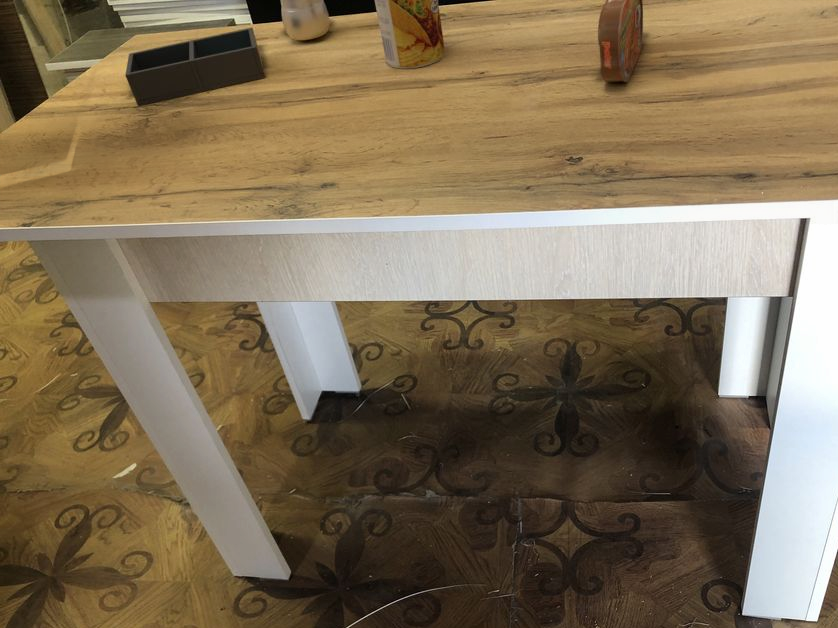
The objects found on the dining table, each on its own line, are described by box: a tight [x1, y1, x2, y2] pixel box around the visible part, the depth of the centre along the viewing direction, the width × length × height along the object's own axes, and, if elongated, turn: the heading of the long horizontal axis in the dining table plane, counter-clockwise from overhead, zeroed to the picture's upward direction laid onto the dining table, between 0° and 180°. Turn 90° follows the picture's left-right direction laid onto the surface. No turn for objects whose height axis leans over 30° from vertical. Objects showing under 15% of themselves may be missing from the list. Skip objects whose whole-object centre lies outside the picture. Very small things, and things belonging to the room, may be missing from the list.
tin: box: [597, 0, 644, 83], centre depth 88 cm, size 15×3×8 cm, turn 161°
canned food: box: [374, 0, 446, 70], centre depth 98 cm, size 8×8×12 cm
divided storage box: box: [125, 27, 266, 107], centre depth 104 cm, size 17×9×4 cm, turn 106°
